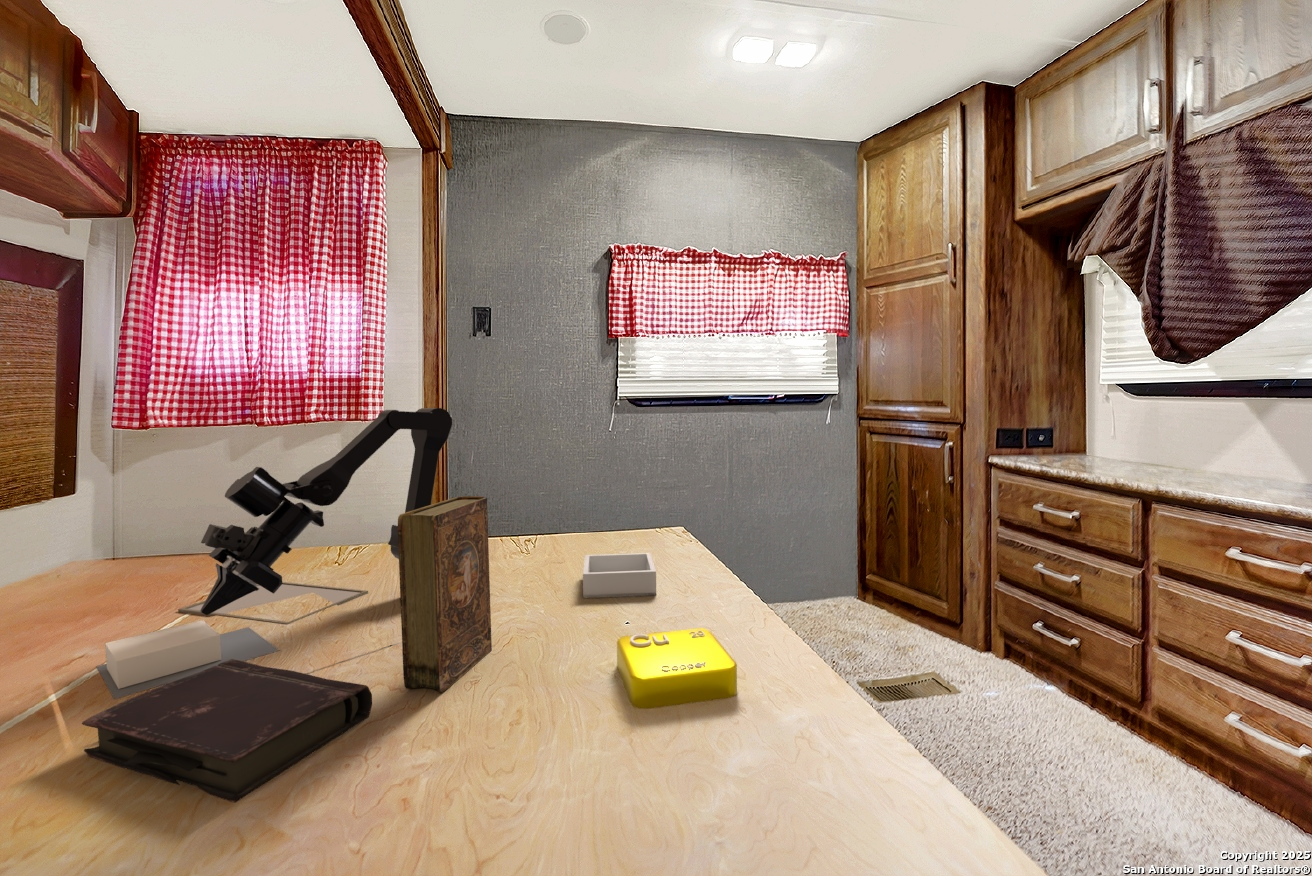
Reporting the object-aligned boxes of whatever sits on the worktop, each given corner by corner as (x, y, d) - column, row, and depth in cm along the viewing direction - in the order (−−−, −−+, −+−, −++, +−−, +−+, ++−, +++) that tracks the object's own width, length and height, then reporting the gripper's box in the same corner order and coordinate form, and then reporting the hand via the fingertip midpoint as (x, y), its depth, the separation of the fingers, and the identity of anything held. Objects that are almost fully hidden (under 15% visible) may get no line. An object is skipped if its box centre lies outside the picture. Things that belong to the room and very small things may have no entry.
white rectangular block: (202, 620, 98) (105, 643, 89) (219, 634, 92) (116, 661, 83) (204, 644, 98) (107, 669, 89) (221, 660, 92) (118, 690, 83)
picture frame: (178, 614, 115) (287, 629, 107) (178, 609, 115) (287, 623, 107) (268, 584, 134) (368, 595, 125) (268, 580, 134) (368, 590, 125)
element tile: (632, 713, 76) (632, 677, 76) (615, 663, 91) (614, 633, 91) (741, 698, 80) (741, 664, 79) (707, 652, 94) (707, 623, 94)
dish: (650, 574, 136) (650, 552, 136) (656, 595, 121) (656, 571, 121) (585, 576, 135) (585, 555, 135) (583, 598, 120) (582, 574, 120)
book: (465, 644, 98) (459, 495, 96) (495, 647, 97) (490, 496, 95) (404, 693, 82) (396, 515, 80) (439, 696, 81) (432, 516, 79)
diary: (239, 688, 85) (237, 654, 84) (373, 717, 76) (372, 680, 76) (75, 763, 67) (72, 721, 67) (226, 812, 59) (223, 764, 59)
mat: (248, 629, 106) (248, 627, 106) (280, 652, 96) (279, 650, 96) (96, 668, 91) (96, 666, 91) (114, 702, 80) (114, 699, 80)
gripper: (220, 499, 103) (142, 576, 95) (255, 511, 91) (169, 600, 83) (273, 535, 110) (205, 610, 102) (312, 551, 98) (238, 636, 90)
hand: (203, 613), depth 94 cm, fingers closed
